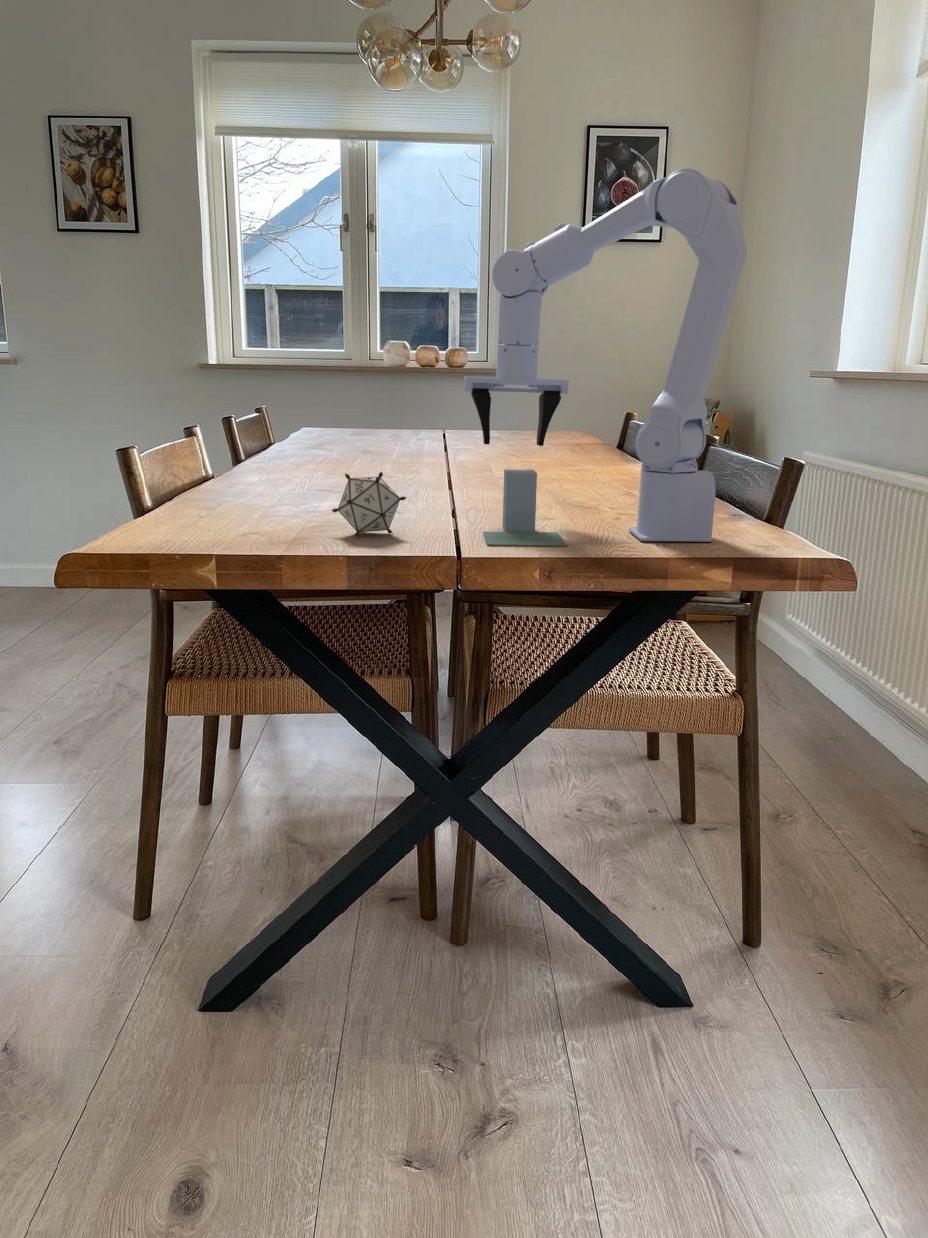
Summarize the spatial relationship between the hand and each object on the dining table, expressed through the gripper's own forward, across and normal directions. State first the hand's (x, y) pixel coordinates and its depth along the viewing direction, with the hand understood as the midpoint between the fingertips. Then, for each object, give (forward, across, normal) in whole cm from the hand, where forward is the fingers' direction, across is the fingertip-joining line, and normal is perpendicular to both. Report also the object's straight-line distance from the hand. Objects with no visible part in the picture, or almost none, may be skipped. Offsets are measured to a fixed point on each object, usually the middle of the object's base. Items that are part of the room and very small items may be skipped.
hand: (513, 444), depth 135 cm
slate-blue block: (+10, 0, +10) cm, 15 cm away
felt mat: (+10, 0, +17) cm, 20 cm away
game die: (+11, +20, +14) cm, 27 cm away
